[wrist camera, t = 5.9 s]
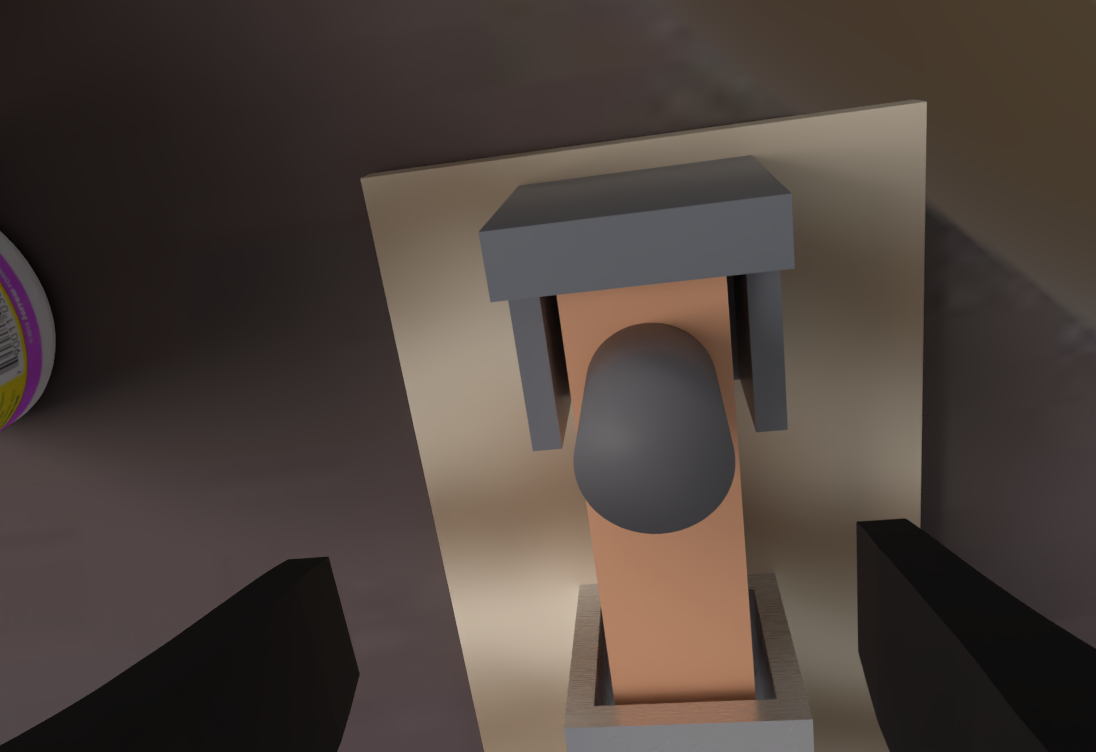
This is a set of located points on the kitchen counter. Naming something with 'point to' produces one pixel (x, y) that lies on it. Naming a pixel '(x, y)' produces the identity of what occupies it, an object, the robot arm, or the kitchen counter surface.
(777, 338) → the socket cradle
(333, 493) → the kitchen counter surface
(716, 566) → the bar
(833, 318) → the base board
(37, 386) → the supplement bottle
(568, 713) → the sleeve
